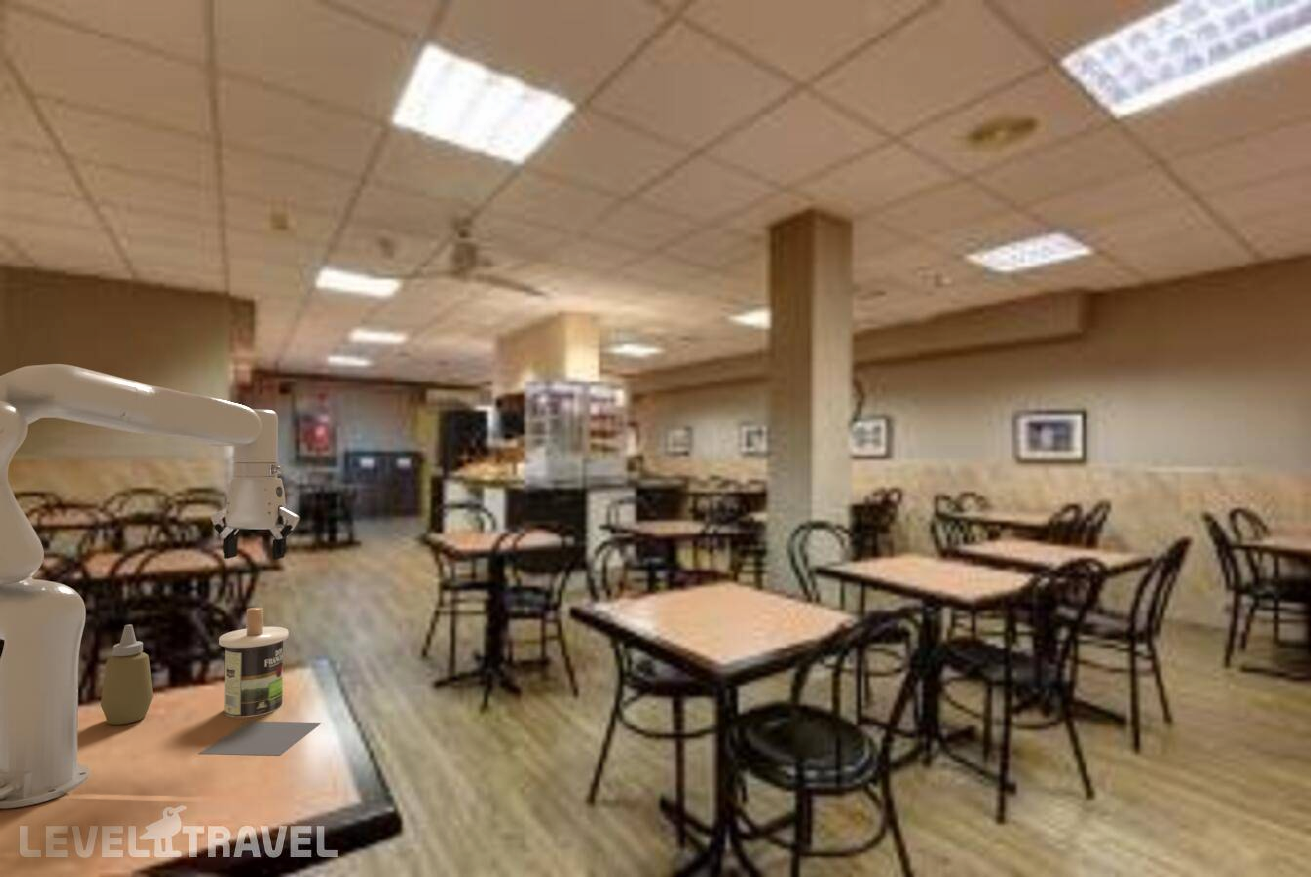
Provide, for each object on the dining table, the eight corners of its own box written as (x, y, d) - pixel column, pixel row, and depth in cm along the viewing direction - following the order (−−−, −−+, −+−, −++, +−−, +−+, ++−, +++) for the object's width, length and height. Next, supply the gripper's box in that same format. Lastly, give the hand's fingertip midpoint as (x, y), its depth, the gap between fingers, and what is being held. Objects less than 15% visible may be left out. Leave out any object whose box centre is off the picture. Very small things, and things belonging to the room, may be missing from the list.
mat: (279, 759, 121) (279, 755, 121) (198, 757, 121) (198, 753, 121) (320, 726, 135) (321, 723, 135) (247, 724, 135) (247, 721, 135)
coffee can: (293, 701, 148) (294, 632, 148) (264, 721, 137) (265, 647, 137) (243, 700, 148) (244, 632, 148) (211, 720, 137) (212, 646, 138)
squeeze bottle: (160, 717, 138) (162, 624, 138) (111, 731, 132) (112, 633, 132) (141, 708, 143) (142, 618, 143) (92, 722, 136) (94, 626, 136)
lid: (268, 648, 136) (268, 617, 136) (205, 647, 137) (205, 616, 137) (300, 631, 148) (300, 602, 148) (242, 631, 149) (242, 602, 149)
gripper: (308, 471, 146) (307, 556, 146) (225, 470, 147) (223, 554, 146) (288, 473, 139) (287, 562, 138) (200, 471, 139) (199, 560, 139)
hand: (254, 558), depth 142 cm, fingers open, 9 cm apart
